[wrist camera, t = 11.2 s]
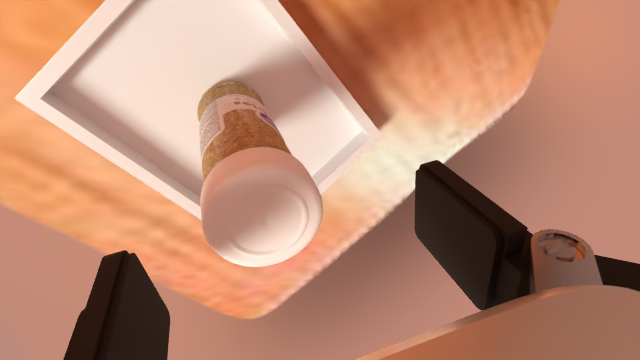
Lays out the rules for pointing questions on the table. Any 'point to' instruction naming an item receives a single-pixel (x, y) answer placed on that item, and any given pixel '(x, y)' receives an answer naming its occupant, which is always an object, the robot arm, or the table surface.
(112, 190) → the table surface
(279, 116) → the tray
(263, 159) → the sprinkles bottle
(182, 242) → the table surface
